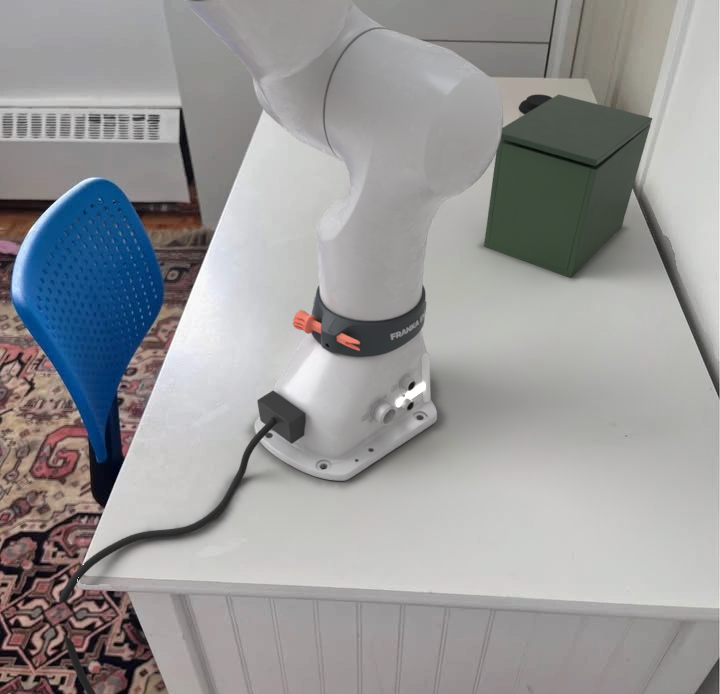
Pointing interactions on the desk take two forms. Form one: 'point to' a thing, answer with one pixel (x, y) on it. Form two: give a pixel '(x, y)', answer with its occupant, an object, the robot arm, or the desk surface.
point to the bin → (558, 203)
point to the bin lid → (575, 129)
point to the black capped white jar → (532, 103)
